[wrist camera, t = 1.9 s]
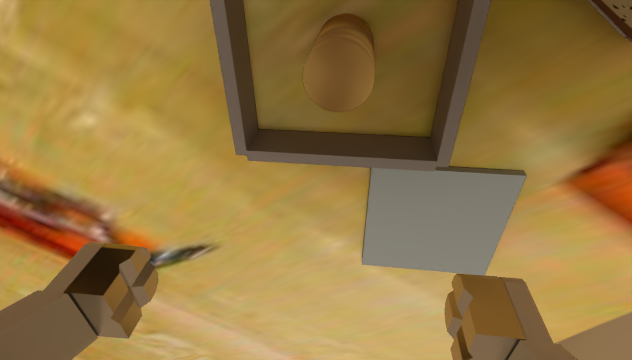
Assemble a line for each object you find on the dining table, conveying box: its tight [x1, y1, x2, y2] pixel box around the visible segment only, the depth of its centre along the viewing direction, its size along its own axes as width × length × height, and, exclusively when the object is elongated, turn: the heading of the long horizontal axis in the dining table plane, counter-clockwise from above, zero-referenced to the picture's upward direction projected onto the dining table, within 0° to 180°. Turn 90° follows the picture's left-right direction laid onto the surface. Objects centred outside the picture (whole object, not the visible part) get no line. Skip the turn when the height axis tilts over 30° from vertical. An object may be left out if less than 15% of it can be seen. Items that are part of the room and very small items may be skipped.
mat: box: [362, 167, 527, 275], centre depth 37 cm, size 14×14×1 cm
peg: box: [303, 14, 375, 112], centre depth 24 cm, size 4×4×8 cm
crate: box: [210, 0, 491, 172], centre depth 26 cm, size 18×18×4 cm
